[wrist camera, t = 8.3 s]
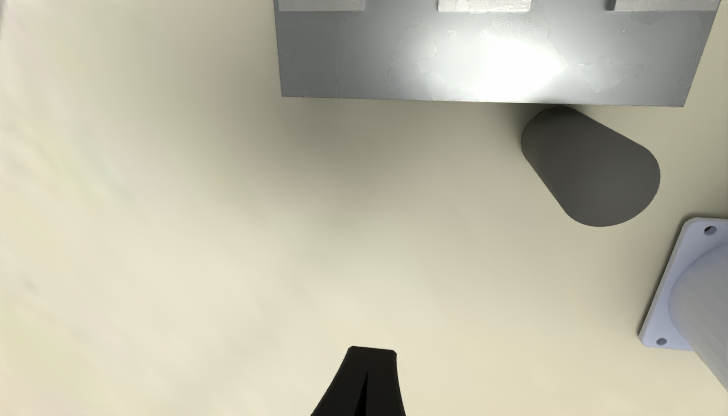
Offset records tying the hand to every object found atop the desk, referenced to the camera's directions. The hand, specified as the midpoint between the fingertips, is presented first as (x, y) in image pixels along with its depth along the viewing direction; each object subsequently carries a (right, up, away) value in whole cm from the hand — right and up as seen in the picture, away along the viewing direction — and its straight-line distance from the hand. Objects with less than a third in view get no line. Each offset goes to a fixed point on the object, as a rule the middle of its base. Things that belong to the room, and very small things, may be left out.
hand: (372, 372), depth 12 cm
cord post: (+9, +8, +6) cm, 13 cm away
